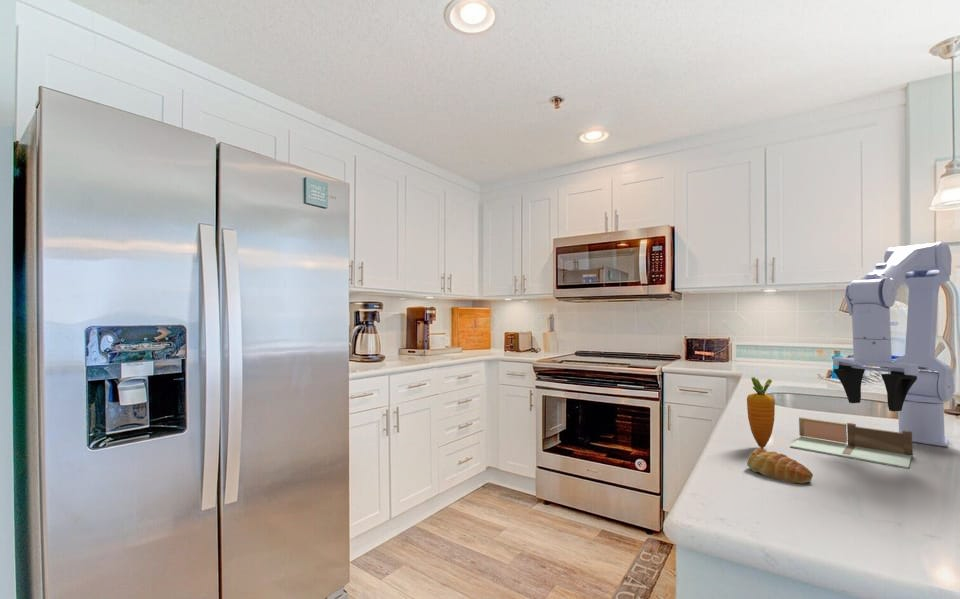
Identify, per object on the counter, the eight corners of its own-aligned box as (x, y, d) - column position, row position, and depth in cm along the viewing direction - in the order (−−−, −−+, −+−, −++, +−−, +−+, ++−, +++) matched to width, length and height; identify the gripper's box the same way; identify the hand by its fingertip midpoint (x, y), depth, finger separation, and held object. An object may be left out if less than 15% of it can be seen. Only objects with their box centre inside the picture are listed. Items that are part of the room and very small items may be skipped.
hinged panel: (800, 434, 100) (799, 417, 100) (847, 442, 94) (846, 423, 94) (798, 435, 99) (798, 417, 99) (846, 443, 93) (845, 424, 93)
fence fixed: (848, 443, 94) (847, 422, 94) (912, 454, 87) (912, 431, 87) (847, 445, 93) (846, 423, 93) (912, 455, 86) (911, 432, 86)
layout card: (804, 434, 102) (804, 432, 102) (912, 451, 89) (912, 449, 89) (790, 447, 93) (790, 445, 93) (908, 468, 79) (908, 466, 79)
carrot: (775, 446, 93) (773, 376, 93) (776, 453, 89) (774, 379, 89) (748, 443, 96) (746, 374, 96) (747, 449, 91) (745, 377, 92)
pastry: (821, 482, 74) (821, 459, 74) (798, 489, 71) (798, 465, 71) (765, 465, 83) (764, 444, 83) (742, 471, 80) (742, 450, 80)
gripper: (820, 337, 94) (822, 400, 94) (895, 341, 80) (898, 415, 79) (847, 336, 95) (849, 398, 95) (926, 340, 81) (929, 414, 81)
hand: (874, 406), depth 87 cm, fingers open, 7 cm apart
